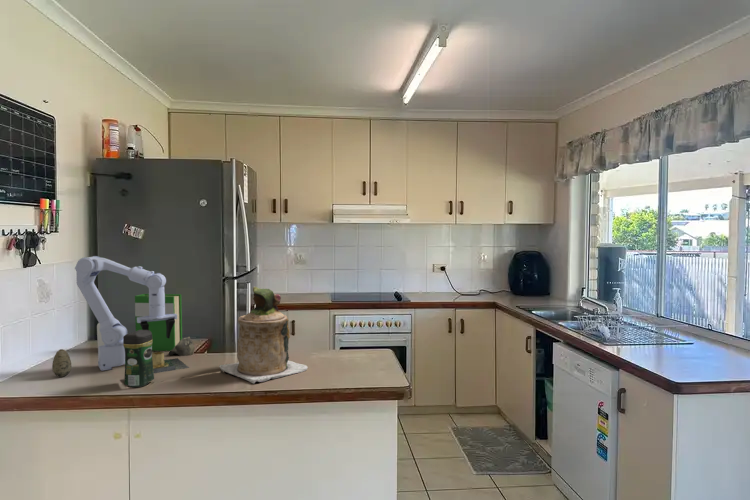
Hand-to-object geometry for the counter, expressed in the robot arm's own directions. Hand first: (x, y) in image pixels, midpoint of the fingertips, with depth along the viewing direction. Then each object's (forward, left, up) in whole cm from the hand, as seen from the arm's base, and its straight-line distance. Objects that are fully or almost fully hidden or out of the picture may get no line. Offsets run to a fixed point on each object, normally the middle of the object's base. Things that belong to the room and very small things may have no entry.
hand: (157, 339), depth 201 cm
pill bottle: (-12, +41, -11) cm, 44 cm away
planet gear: (-2, -8, -9) cm, 13 cm away
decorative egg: (-32, +5, -11) cm, 34 cm away
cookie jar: (+30, -31, -11) cm, 45 cm away
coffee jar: (-11, -21, -11) cm, 26 cm away
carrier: (0, -6, -10) cm, 12 cm away
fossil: (+12, +11, -11) cm, 19 cm away
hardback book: (+7, +29, -11) cm, 32 cm away
